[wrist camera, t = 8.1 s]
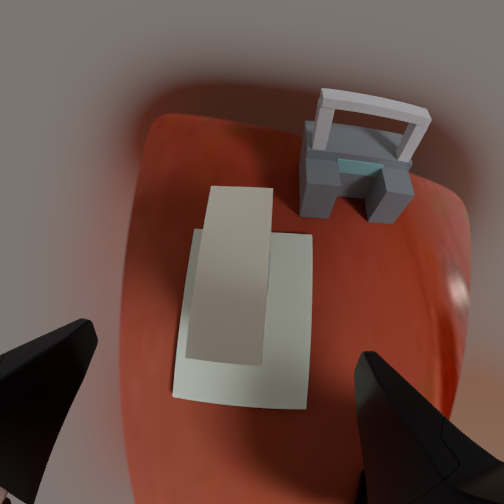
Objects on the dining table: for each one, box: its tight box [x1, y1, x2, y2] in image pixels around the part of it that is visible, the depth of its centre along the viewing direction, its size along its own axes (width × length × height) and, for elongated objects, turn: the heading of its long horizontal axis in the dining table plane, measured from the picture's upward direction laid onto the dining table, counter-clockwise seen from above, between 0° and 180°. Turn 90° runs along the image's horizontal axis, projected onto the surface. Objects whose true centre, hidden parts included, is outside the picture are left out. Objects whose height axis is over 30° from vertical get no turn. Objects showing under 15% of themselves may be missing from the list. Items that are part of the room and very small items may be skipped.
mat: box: [173, 229, 312, 409], centre depth 21 cm, size 14×10×1 cm
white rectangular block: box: [185, 186, 273, 366], centre depth 16 cm, size 8×3×10 cm, turn 175°
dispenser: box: [299, 88, 431, 224], centre depth 20 cm, size 6×9×11 cm, turn 86°
